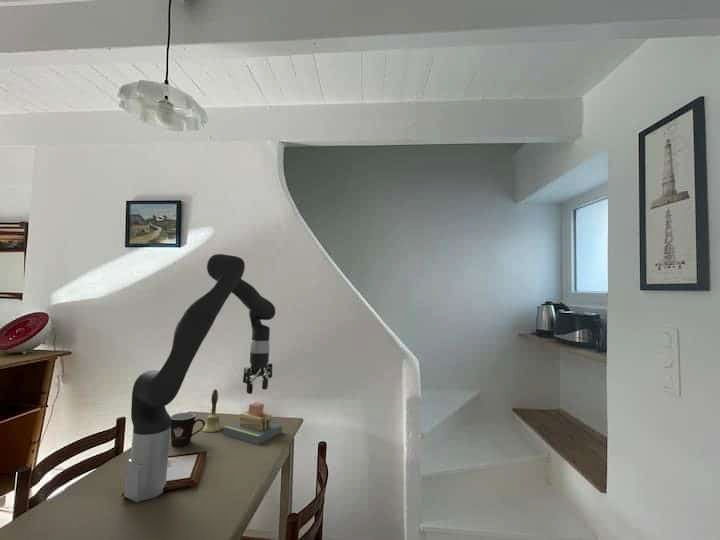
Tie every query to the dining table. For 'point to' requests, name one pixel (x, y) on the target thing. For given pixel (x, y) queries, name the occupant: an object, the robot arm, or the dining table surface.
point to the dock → (252, 433)
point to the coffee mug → (183, 428)
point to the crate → (256, 409)
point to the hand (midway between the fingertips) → (257, 391)
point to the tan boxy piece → (255, 421)
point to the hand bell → (213, 416)
